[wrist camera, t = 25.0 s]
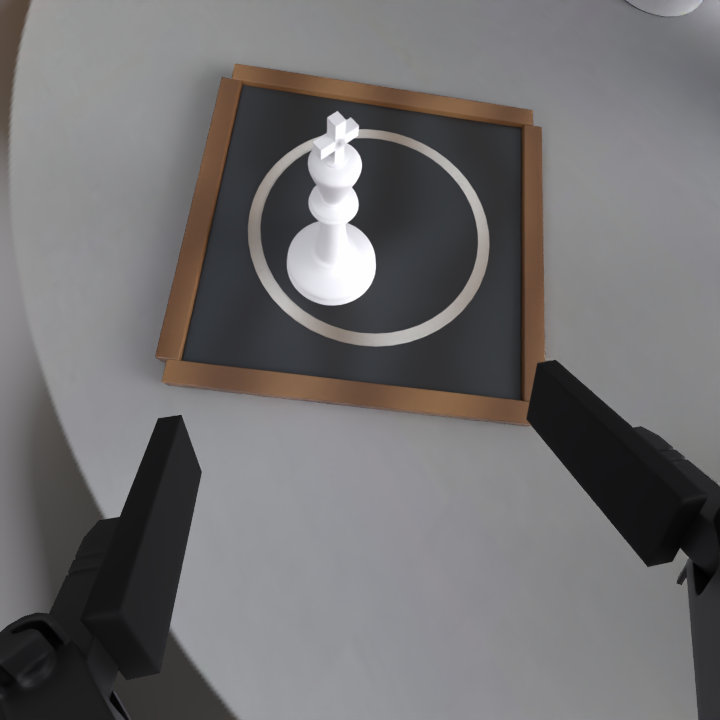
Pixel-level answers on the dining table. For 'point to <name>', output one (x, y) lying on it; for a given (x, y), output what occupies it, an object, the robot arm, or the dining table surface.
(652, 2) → the white cylinder
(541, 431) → the robot arm
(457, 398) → the slate
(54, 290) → the dining table surface
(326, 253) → the chess piece
